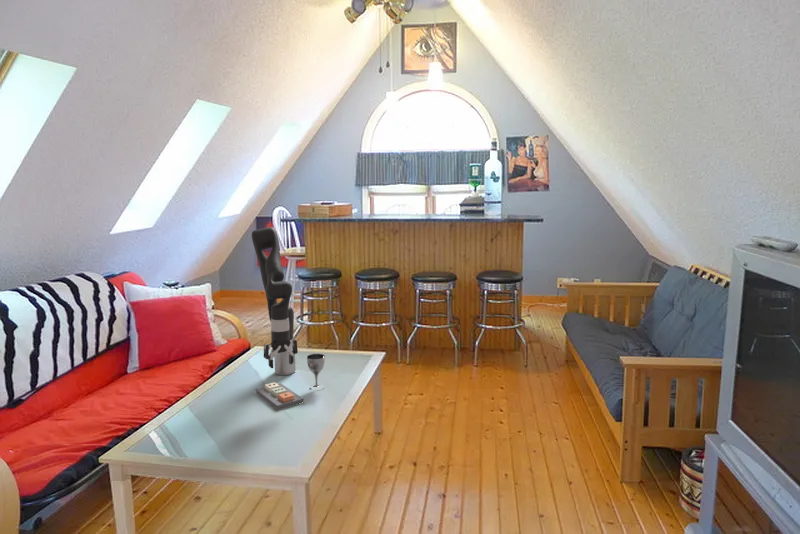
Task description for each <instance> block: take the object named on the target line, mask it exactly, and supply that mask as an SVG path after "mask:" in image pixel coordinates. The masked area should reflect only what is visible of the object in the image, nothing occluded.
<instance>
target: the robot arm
mask: <svg viewBox="0 0 800 534" xmlns="http://www.w3.org/2000/svg"><path fill="white" fill-rule="evenodd" d="M251 241H252V245H253V247H254V248H253V249H254V251H255V255H256V258H257V262H258V265H259V271H260V276H261V281H262V285H263V288H264V292H265V293H264V294H265V296H266V301H267V302H266V303H267V310H268V318H269V321H270V338H271V342H270V343H264V344H263V358H264V359H265V360H267V361H268V367H269V368H271V369H274V374H276V375H278V376H287V375H288V376H289V375H291V374H293V373H296V372H295V371H296V355H297V354H298V353H299V351H298V341H297V340H296V339H294V324H295V323H294V319H295V312H294V309H293V307H291V306H289V305H290V300H291V298H292V297H291V296H292V293H293V286H292V283H291V282H290V281H286V280H284V279H285V274H284V269H283V265H282V261H281V251H280V250H281V249H280V241H279V237H278V233H277V231H276V229H275V228H274V227H272V226H271V227H270V226H269V227H264V228H259V229H256V230H252V232H251ZM266 249H267V250H268V249H271V251H270V253H269V255H266V253H265V252H264V250H266ZM279 299H282V300H281V301H280V302H278V300H279ZM271 348H272V349H271ZM270 349H271V350H270Z"/></svg>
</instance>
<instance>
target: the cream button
mask: <svg viewBox="0 0 800 534" xmlns="http://www.w3.org/2000/svg"><path fill="white" fill-rule="evenodd" d="M278 384H279V383H277V382H276V381H275V382H270V383H266V384H264V387H265V390H267V391H268V392H272V389H275V388H280V386H279V385H278Z"/></svg>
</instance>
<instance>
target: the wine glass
mask: <svg viewBox="0 0 800 534" xmlns="http://www.w3.org/2000/svg"><path fill="white" fill-rule="evenodd" d="M325 360H326V356H325V355H324V354H322V353H312V354H308V355H307V356H306V363H307V367H308V370H309V371H310V372H311V373H312V374H313V376H314V379H315V384H313V385H314V386H313V387H319V385H320V384H318V377H319V375H320V373H321V372H322V370H323V369H324V367H325V362H326V361H325Z"/></svg>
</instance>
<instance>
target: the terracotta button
mask: <svg viewBox="0 0 800 534" xmlns="http://www.w3.org/2000/svg"><path fill="white" fill-rule="evenodd" d="M279 400H280V401H282V402H283V403H284V402H288V401H292V400H294V395H293V394H291V393H290V392H286V393H283V394H279Z"/></svg>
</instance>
